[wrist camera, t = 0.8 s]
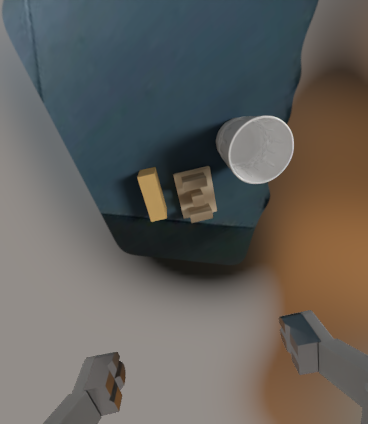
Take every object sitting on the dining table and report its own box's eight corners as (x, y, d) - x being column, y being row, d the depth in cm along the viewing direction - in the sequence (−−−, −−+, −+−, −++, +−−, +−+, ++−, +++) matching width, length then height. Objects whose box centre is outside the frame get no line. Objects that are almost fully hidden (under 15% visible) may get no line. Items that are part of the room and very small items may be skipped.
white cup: (210, 165, 37) (226, 185, 28) (212, 113, 33) (231, 116, 24) (257, 164, 37) (287, 182, 28) (264, 112, 34) (300, 115, 25)
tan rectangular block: (139, 170, 36) (136, 177, 33) (155, 166, 36) (154, 173, 33) (151, 211, 40) (150, 221, 36) (166, 207, 40) (166, 218, 36)
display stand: (173, 174, 37) (174, 181, 33) (208, 165, 37) (213, 172, 33) (183, 216, 40) (185, 226, 37) (215, 208, 40) (220, 218, 37)
